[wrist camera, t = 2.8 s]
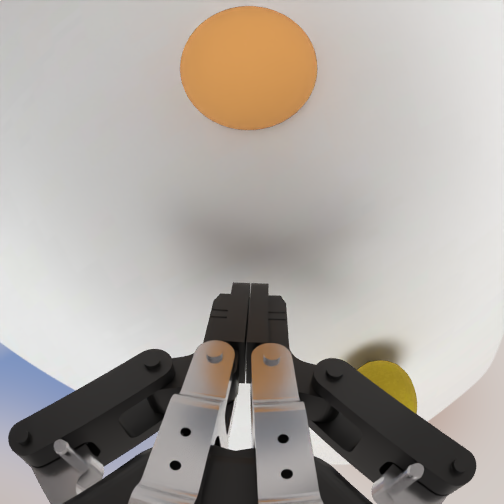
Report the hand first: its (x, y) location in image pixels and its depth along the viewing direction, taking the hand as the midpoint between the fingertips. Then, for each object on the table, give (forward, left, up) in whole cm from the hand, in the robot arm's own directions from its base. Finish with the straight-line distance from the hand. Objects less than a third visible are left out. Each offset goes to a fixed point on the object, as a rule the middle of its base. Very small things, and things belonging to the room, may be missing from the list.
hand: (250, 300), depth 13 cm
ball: (0, +10, -2) cm, 10 cm away
